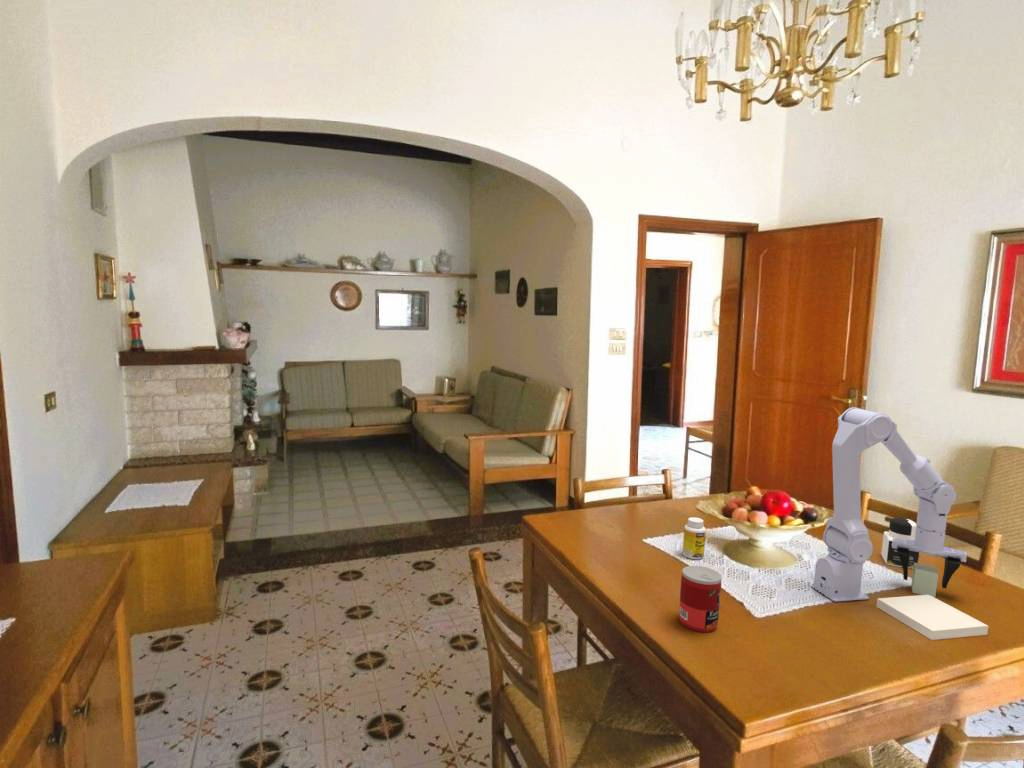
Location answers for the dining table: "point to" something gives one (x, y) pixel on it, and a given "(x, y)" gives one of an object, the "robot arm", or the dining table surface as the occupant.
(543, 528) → the dining table surface
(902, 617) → the cream slab
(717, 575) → the canned food
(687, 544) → the supplement bottle
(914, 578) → the sage block
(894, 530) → the medicine bottle
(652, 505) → the dining table surface
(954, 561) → the robot arm
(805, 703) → the dining table surface
